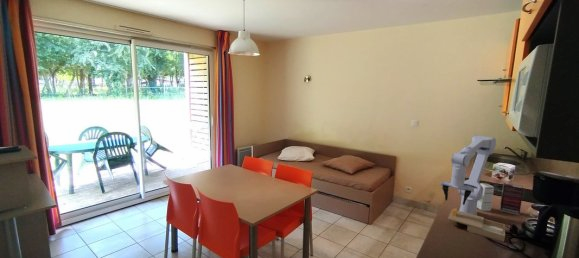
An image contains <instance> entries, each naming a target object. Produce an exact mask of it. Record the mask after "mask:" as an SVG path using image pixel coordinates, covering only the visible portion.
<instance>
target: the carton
mask: <svg viewBox="0 0 579 258" xmlns="http://www.w3.org/2000/svg"><path fill="white" fill-rule="evenodd" d="M466 232H468V233H472V234H474V235H475V234H476V235H479V236H483V237H484V238H485V237H486V238H489V239H491V240H496V241H499V242H502V243H504V242H505V238H506V224H504V223H500V222H497V221H494V220H490V219H486V218H484V221H483V226H482V229H479V228H476V227H473V226H469V225H467V228H466Z"/></svg>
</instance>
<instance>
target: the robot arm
mask: <svg viewBox="0 0 579 258" xmlns="http://www.w3.org/2000/svg"><path fill="white" fill-rule="evenodd" d="M496 146H497V139H496V138H495V137H490V136H483V135H477V134H475V135H474V136H472V138H471V143H470V144H469V145H468V146H467V145H466V146H464V147H463V148H462V149H461V150H460V151H459V152H455V153H453V154H452V156H451V160H450V161H451V167H452V171H451V180H450V182H449V181H444V180H443V181H440V185H439V186H441V188H442V191H443V193H444V198H445V199H444V200H445V201H448V199H449V197H448V195H449V189H450V188H452V189H453V188H454V189H456V190H457V189H458V193H459V196H460V197H461V199H460V200H461V202H460V207H459V210H458V211H461V212H465V213H469V214H473V215H476V216H478V215H477V214H478V211H477V209H478V208H477V201H479V200H480V199H481V198H482V195H483V187H482V186H481V185H480V181H481V179H482V175H483V173H484V170H485V166H486V164H487V161H488V158H489V156H490V155H493V154H494V152H495V149H496ZM476 153H477V155H476ZM475 155H476V158H475V161H474V164H473V165H472V166H473V167H472V169H471V172H470V175H469V178H468V179H466V174H467V173H466V172H467V167H468V166H469V164H470V161H471V160H472V158H473V157H474V156H475ZM465 179H466V180H465ZM477 188H478V189H477Z"/></svg>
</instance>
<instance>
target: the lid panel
mask: <svg viewBox="0 0 579 258" xmlns="http://www.w3.org/2000/svg"><path fill="white" fill-rule="evenodd" d="M484 219H485V217H483V216H479V215H473V214H469V213H465V212H461V211H459V210H458V208H457V207H453V209H451V211H450V213H449V214H448V217H447V220H449V221H452V222H455V223H459V224H462V225H466V226H468V225H469V226H473V227H476V228H479V229H482V226H483V221H484Z"/></svg>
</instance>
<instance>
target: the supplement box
mask: <svg viewBox="0 0 579 258" xmlns="http://www.w3.org/2000/svg"><path fill="white" fill-rule="evenodd" d="M523 194H524V187H523V185H520V184H519V185H518V184H515V183H514V184H513V183H508V182H503V184H502V191H501V198H500V206H499V210H500V212H502V213H503V212H504V213H508V214H513V215H517V216H520V212H521V209H522V208H521V206H522V201H523V200H522V199H523Z"/></svg>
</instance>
